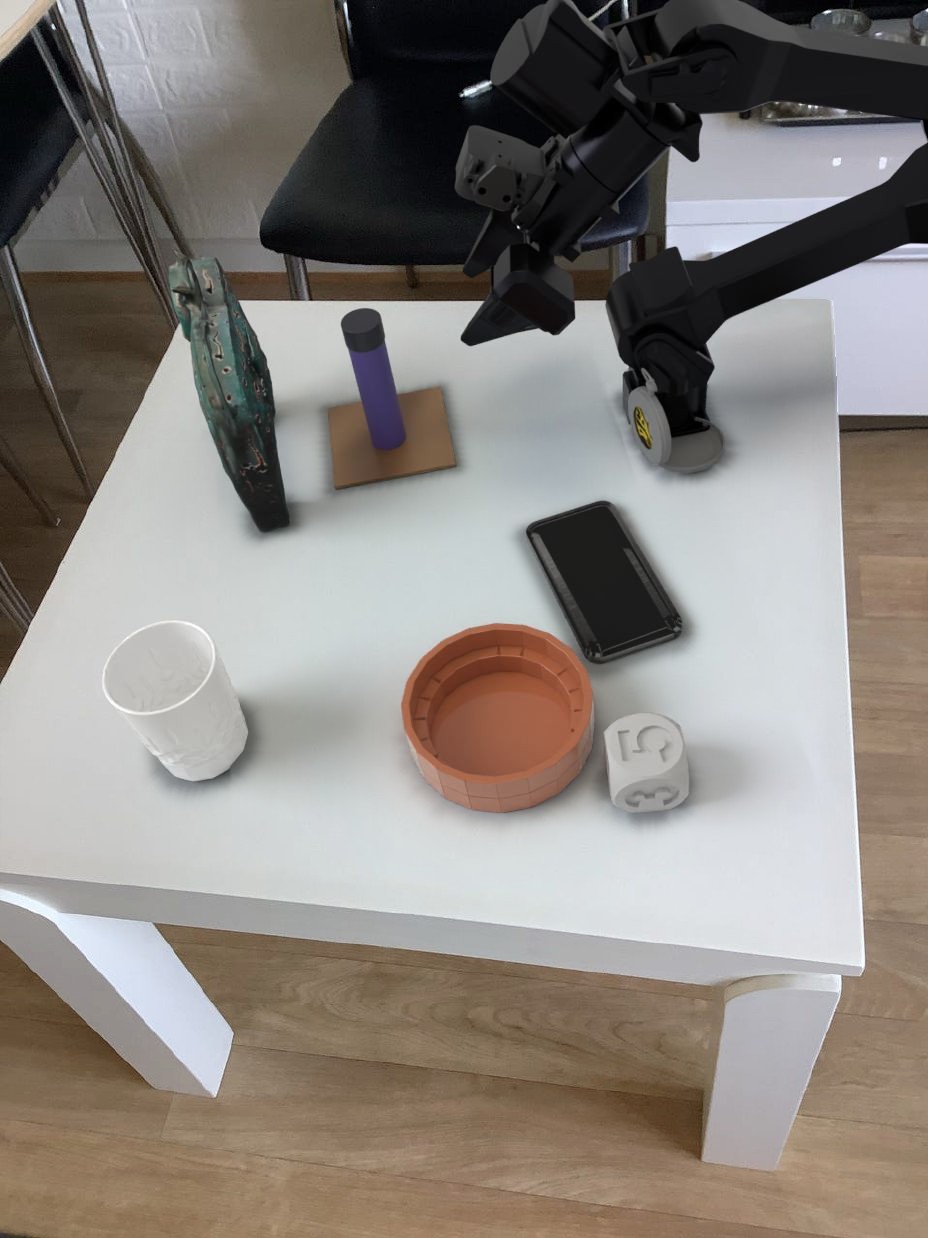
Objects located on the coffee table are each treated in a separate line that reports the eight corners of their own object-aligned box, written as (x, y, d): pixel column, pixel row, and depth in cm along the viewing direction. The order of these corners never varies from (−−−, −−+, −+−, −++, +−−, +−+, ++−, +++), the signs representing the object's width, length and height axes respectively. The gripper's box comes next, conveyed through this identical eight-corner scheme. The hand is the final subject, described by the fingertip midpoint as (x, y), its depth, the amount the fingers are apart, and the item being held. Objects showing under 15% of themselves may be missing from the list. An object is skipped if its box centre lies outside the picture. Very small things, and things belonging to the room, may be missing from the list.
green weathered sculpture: (217, 405, 104) (143, 220, 88) (280, 388, 104) (218, 201, 89) (243, 545, 91) (163, 358, 76) (315, 524, 92) (250, 335, 76)
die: (603, 754, 74) (602, 715, 70) (675, 747, 74) (677, 708, 70) (613, 818, 71) (612, 781, 67) (687, 811, 71) (691, 773, 67)
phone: (589, 661, 78) (521, 525, 87) (590, 670, 78) (523, 534, 88) (688, 628, 78) (610, 496, 88) (688, 637, 79) (611, 505, 88)
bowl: (573, 645, 80) (570, 608, 77) (612, 796, 72) (611, 762, 68) (403, 677, 80) (393, 642, 77) (423, 831, 72) (412, 799, 69)
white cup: (274, 711, 80) (235, 631, 72) (227, 800, 76) (181, 725, 68) (185, 690, 82) (138, 610, 74) (134, 775, 78) (79, 700, 70)
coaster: (440, 389, 101) (440, 385, 101) (456, 466, 94) (455, 463, 94) (328, 410, 101) (327, 407, 101) (335, 489, 94) (334, 486, 94)
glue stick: (414, 439, 96) (388, 320, 86) (382, 456, 95) (353, 338, 85) (394, 420, 98) (367, 302, 88) (364, 437, 97) (333, 319, 87)
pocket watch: (738, 440, 92) (748, 346, 84) (690, 500, 88) (696, 407, 80) (656, 410, 96) (658, 317, 88) (606, 466, 92) (604, 375, 84)
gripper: (511, 33, 78) (391, 188, 88) (515, 163, 66) (376, 325, 76) (619, 125, 83) (494, 262, 93) (640, 261, 72) (495, 400, 81)
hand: (465, 307), depth 86 cm, fingers open, 9 cm apart
